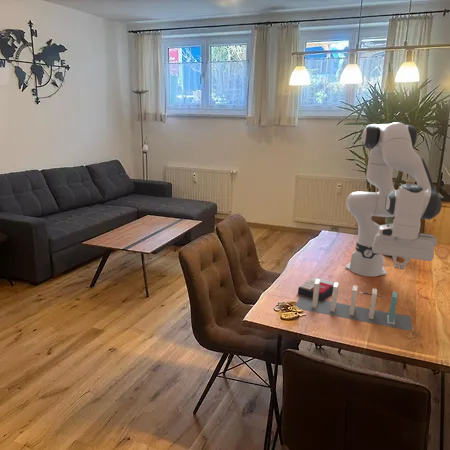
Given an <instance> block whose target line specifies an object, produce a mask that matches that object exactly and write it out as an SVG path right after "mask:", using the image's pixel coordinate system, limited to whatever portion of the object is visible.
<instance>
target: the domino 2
mask: <svg viewBox="0 0 450 450" xmlns="http://www.w3.org/2000/svg"><path fill="white" fill-rule="evenodd" d="M333 282H334V285H333V292H332V294H331V301H330V302H331V309H330V311H333V312H335V308H336V303H338V302H337V301H338V292H339V284H340V283H339V282H337V281H333Z"/></svg>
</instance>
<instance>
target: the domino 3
mask: <svg viewBox="0 0 450 450" xmlns="http://www.w3.org/2000/svg"><path fill="white" fill-rule="evenodd" d="M358 288H359V286H358V285H355V284H354V285H353V286H352V290H351V299H350V304H349V305H350V312H349V315H354V310H355V306H356V301H357V294H358Z"/></svg>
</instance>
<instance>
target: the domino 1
mask: <svg viewBox="0 0 450 450" xmlns="http://www.w3.org/2000/svg"><path fill="white" fill-rule="evenodd" d="M320 279H321V278H320ZM320 279H316V281H315V283H314V292H313V301H312V307H313V308H316V307H317V304H318V297H319V288H320Z"/></svg>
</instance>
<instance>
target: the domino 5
mask: <svg viewBox="0 0 450 450" xmlns="http://www.w3.org/2000/svg"><path fill="white" fill-rule="evenodd" d="M390 299H391V300H390V306H389V322H392V323H393V322H394V316H395V314H396V309H397V304H398V303H397V302H398V292H397V291H392V293H391V298H390Z"/></svg>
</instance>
